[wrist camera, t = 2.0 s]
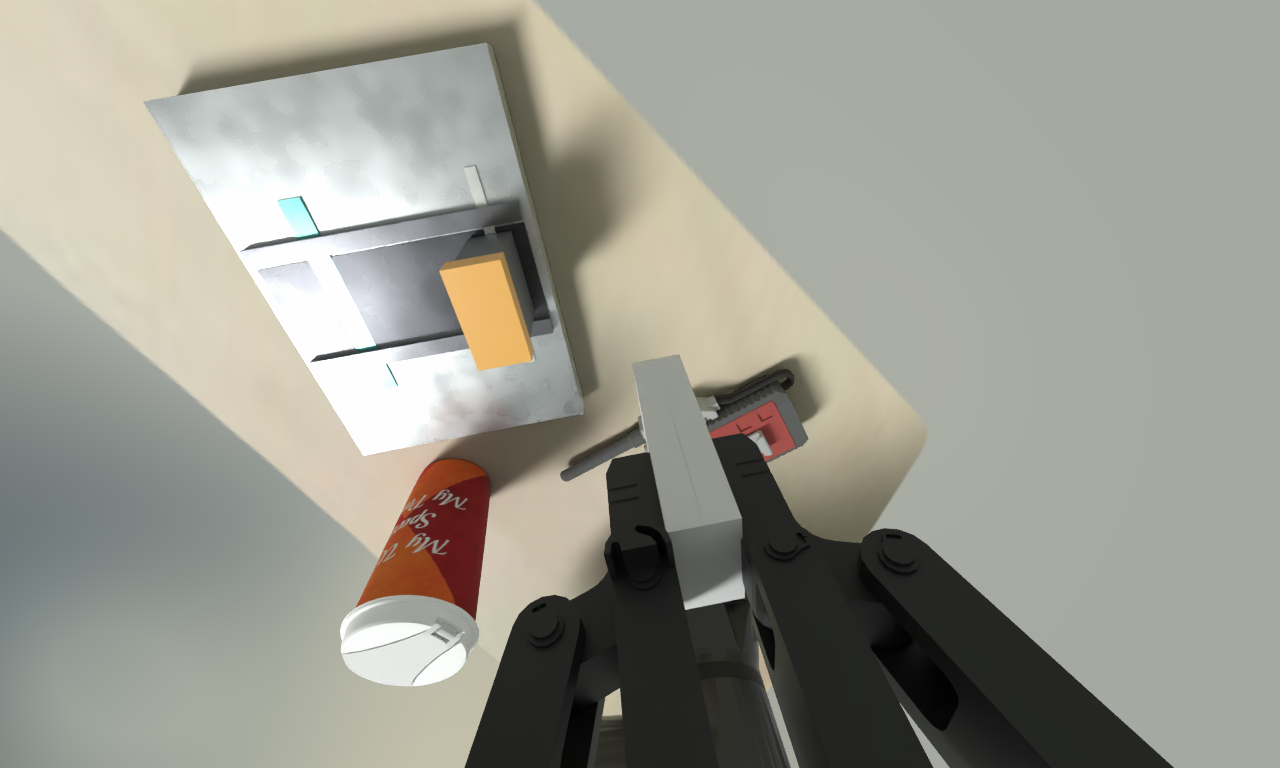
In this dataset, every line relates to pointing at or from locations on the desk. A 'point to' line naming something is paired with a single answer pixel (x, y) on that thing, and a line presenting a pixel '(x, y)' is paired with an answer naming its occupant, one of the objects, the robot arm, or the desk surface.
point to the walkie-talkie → (730, 422)
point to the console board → (381, 234)
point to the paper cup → (424, 583)
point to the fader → (491, 300)
